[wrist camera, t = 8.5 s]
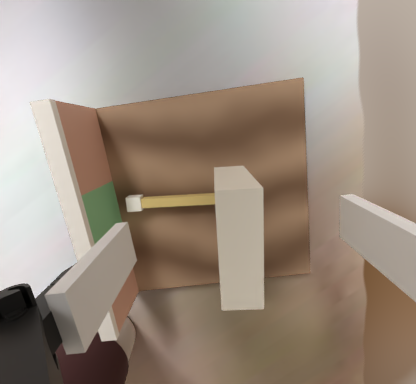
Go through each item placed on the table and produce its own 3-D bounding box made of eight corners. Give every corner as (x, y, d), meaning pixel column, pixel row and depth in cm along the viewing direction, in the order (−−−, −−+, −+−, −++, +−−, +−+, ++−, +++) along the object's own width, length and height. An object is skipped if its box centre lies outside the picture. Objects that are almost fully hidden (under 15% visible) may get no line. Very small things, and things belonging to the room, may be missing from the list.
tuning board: (85, 112, 24) (79, 111, 22) (298, 80, 22) (303, 77, 21) (128, 286, 28) (125, 292, 27) (306, 266, 27) (310, 273, 26)
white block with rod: (238, 159, 23) (263, 187, 12) (240, 226, 25) (264, 309, 13) (126, 166, 24) (43, 200, 12) (136, 231, 25) (71, 316, 14)
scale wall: (82, 110, 22) (29, 102, 16) (96, 108, 22) (49, 99, 16) (127, 292, 27) (101, 341, 21) (139, 291, 27) (116, 340, 21)
